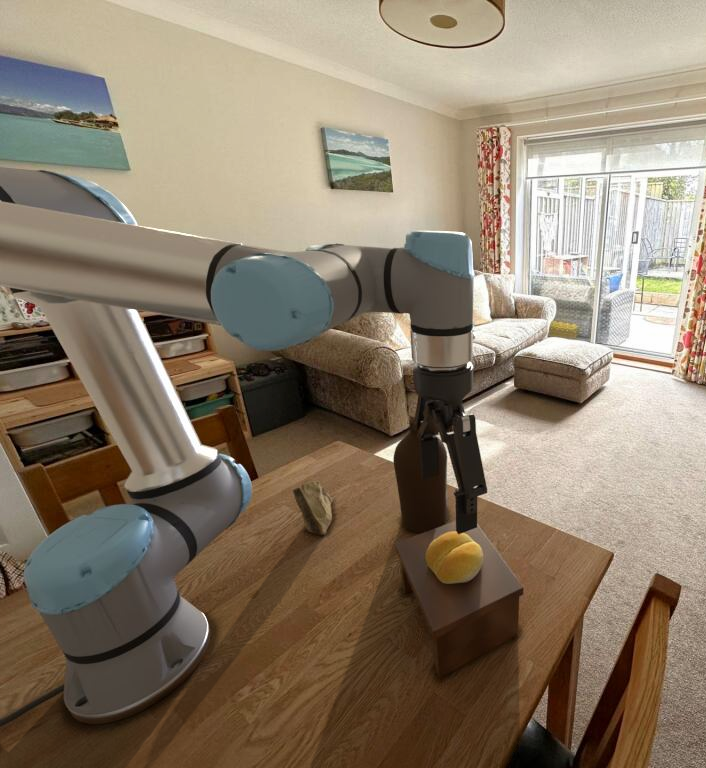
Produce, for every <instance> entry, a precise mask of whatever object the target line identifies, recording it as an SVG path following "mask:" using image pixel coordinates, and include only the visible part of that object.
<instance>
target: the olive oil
mask: <svg viewBox="0 0 706 768" xmlns="http://www.w3.org/2000/svg"><path fill="white" fill-rule="evenodd" d="M415 413H416V410H414V411H411V412H410V413H409V415H408V416H409V420H408V421H409V422H408V424H409V431H408V432H407V433H406V435H405V436H404V437H403V438H402V439H400V441H399V442H398V443H397V444H396V447H395V449H394V453H393V460H392V461H393V467H394V474H395V480H396V485H397V492H398V498H399V505H400V513H401V514H400V515H401V521H402V524H403V526H404V527H405V529H407V530H409V531H411V532H414V533H424V532H427V531H430V530H433V529H435V528H438V527H441V526H443V525H444V523H445V522H446V520H447V516H448V512H447V509H448V507H447V506H448V505H447V503H448V502H447V500H448V499H447V498H448V497H447V496H448V495H447V494H448V491H447V489H448V452H447V449H446V445H445V443H443V442H442V441H441V438H440V437H438V435H435V436H432V437H433V438H434V437H437V438H438V445H439V474H440V475H437V476H433V477H430V478H426V479H423V478H422V475H421V456H420V441H421V439H419V437H418V431H419V430H415V428H414V420H415Z"/></svg>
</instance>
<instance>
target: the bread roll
mask: <svg viewBox="0 0 706 768" xmlns="http://www.w3.org/2000/svg"><path fill="white" fill-rule="evenodd" d="M426 561H427V564H428V566H429V568H430V569H431V570H432V571H433V572H434V573H435V574H436V576H437V578H438V579H439V580H440V581H441V582H443V583H445V584H453V583H464V582H468V581H470V580H471V579H473V578H474V577H475V576H476V575H477V574H478V572H479V570H480V569H481V566H482V563H483V553H482V549H481V547H480V546H479V545H478V544H477V543H476V542H474V541H473V540H472V539H471V538H470V537H469V536H468V535H467V534H465V533H461V534H458V533H457V531H451V532H447V533H445V534H443V535H441V536H440V537H438V538H437V539H435V540H434V541H433V542H431V544H430V545H429V547H428V549H427V552H426Z"/></svg>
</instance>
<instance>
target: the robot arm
mask: <svg viewBox="0 0 706 768" xmlns="http://www.w3.org/2000/svg"><path fill="white" fill-rule="evenodd" d="M403 246H404V247H378V246H365V245H364V246H363V245H347V244H343V243H337V242H336V243H326V244H313V245H310V246H308V247H307V248H306V249H305V250H302V251H301V250H300V251H286V250H279V249H274V248H269V247H268V248H267V247H262V246H257V245H248V244H243V243H239V242H233V241H227V240H221V239H217V238H211V237H205V236H198V235H194V234H187V233H183V232H178V231H171V230H165V229H160V228H155V227H148V226H143V225H139V224H138V222H137V220H136V218H135V217H134V215H133V214H132V213H131V211H130V210H129V209H128V208H127V206H126V205H125V204H124V203H123V202H122V201H121V200H120V199H119V198H118V197H116V196H115V195H114V194H113V193H112V192H110V191H109V190H107V189H105V188H104V187H102V186H100V185H99V184H98V183H96V182H93V181H92V180H89V179H86V178H83V177H79V176H75V175H68V174H62V173H58V172H55V171H52V170H51V171H50V170H46V169H38V170H37V169H28V168H27V169H25V168H14V167H4V166H0V287H5V288H9V290H10V292H11V294H12V295H13V296H14V297H15V298H16V299H20V300H23V301H25V302H27V303H30V304H33V305H35V306H37V307H38V308H40V310H41V312H42V313H43V315H44V317H45V319H46V320H47V322H48V324H49V326H50V328H51V329H52V332H53V333H54V335H55V336H56V338H57V341H58V342H59V343H60V346H61V347H62V349H63V350H64V353H65V354H66V356H67V358H68V359H69V362H70V363H71V365H72V367H73V369H74V371H75V372H76V374H77V376H78V377H79V379H80V381H81V383H82V384H83V386H84V388H85V390H86V392H87V393H88V395H89V397H90V400H92V402H93V404H94V406H95V408H96V409H97V411H98V413H99V415H100V417H101V418H102V420H103V422H104V424H105V425H106V427H107V429H108V431H109V433H110V434H111V436H112V438H113V440H114V441H115V444H116V445H117V447H118V449H119V451H120V452H121V454H122V456H123V458H124V460H125V461H126V463H127V465H128V466H129V469H130V470H131V471H130V473H129V475H128V476H127V478H126V480H125V482H124V484H123V486H124V489H125V491H126V493H127V494H128V496H129V498H130V499H131V501H132V503H119V504H114V505H113V504H112V505H108V506H105V507H100V508H98V509H95V510H94V512H93V513H91V514H88V515H87V514H82V515H80V516H77V517H76V518H74V519H72V520H70V521H69V522H66V523H65V524H63V525H61V526H60V527H59V528H57V529H56V530H54V531H53V532H52V533H51V534H49V535H47V537H45V538H44V539H43V540H42V541H41V542H40V543H39V544H38V545H37V546H36V547H35V548H34V549H33V551H32V552H31V553H30V555H29V556H28V557H27V560H26V562H25V564H24V570H23V581H24V584H25V587H26V591H27V593H28V598H29V602H30V604H31V605H32V607H33V609H35V610H37V611H38V613H39V614H40V616H41V619H42V620H43V622H44V623H45V625H46V626H47V628H48V630H49V631H50V633H51V635H52V637H53V638H54V640H55V641H56V643H57V645H58V647H59V648H60V650H61V652H62V653H63V655H64V657H65V660H66V661H65V670H64V671H65V672H64V683H63V684H62V685H60V686H58V687H56V688H54V689H52V690H50V691H49V692H47V693H45V694H43V695H41V696H39V697H38V698H36V699H34V700H32V701H30V702H29V703H27V704H25V705H23V706H22V707H20V708H19V709H17V710H15V711H14V712H11V713H9V714H8V715H6V716H4V717H2V718H0V727H3V726H4V725H6V724H8V723H11V722H12V721H14V720H16V719H18V718H19V717H21V716H22V715H24V714H26V713H27V712H29V711H31V710H32V709H34V708H36V707H37V706H39V705H41V704H43V703H45V702H46V701H47V702H48V701H49V700H50V699H52V698H54V697H56V696H57V695H60V694H61V693H63V702H64V704H65V706H66V708H67V711H69V713H70V715H71V716H72V717H73V718H74V719H75V720H76V721H78V722H80V723H83V724H88V725H103V724H109V723H113V722H118V721H120V720H124V719H127V718H129V717H131V716H134V715H136V714H138V713H140V712H142V711H144V710H146V709H148V708H149V707H151V706H153V705H155V704H156V703H157V702H159V701H161V700H162V699H163V698H165V697H166V696H167V695H169V694H171V693H172V692H173V691H174V690H175V689H177V688H178V687H179V686H180V685H181V684H182V683H183V682H184V681H185V680H187V678H188V677H189V676H190V675H191V674H193V672H194V671H195V669H197V667H198V666H199V664H201V662H202V660H203V658H204V657H205V655H206V653H207V651H208V648H209V647H210V643H211V635H212V633H211V628H210V624H209V622H208V619H207V617H206V615H205V614H204V613H203V612H202V611H201V610H200V609H198V608H197V607H195V606H194V605H193V604H192V603H191V602H189V601H188V600H187V599H185V598H184V597H183V596H181V594H180V592H179V589H178V587H177V583H176V582H175V578H176V576H177V575H179V574H180V572H181V571H182V570H183V569H185V567H187V566H188V565H189V564H190V563H192V561H193V560H194V559H195V558H197V557H198V556H199V555H200V554H201V553H202V552H203V551H204V550H205V549H206V548H208V546H209V545H211V543H213V542H214V540H215V539H216V538H218V537H219V536H220V535H221V534H222V533H223V532H224V531H225V530H228V529H229V528H230V527H231V526H233V525H234V524H235V523H236V521H237V520H238V519H239V517H240V516H241V515H242V514H243V513H244V511H245V510H246V509H247V508H248V506H249V504H250V502H251V499H252V496H253V495H252V494H253V485H252V481H251V478H250V475H249V474H248V472H247V470H246V468H245V467H244V466H243V465H242V464H241V463H236V459H234V458H233V457H231V456H229V455H227V454H223V453H219V450H218V449H217V448H216V447H212V446H210V445H205V444H202V442H201V439H200V438H199V436H198V434H197V431H196V430H195V428H194V425H193V423H192V422H191V420H190V417H189V415H188V412H187V411H186V408H185V406H184V404H183V402H182V401H181V398H180V396H179V393H178V392H177V390H176V388H175V386H174V385H175V384H173V381H172V379H171V376H170V375H169V373H168V370H167V368H166V366H165V365H164V362H163V360H162V358H161V356H160V354H159V352H158V350H157V348H156V346H155V344H154V341H153V340H152V339H153V338H152V337H151V335H150V333H149V330H148V329H147V327H146V325H145V323H144V321H143V318H142V316H141V314H140V312H144V313H149V314H155V315H160V316H165V317H166V316H167V317H172V318H176V319H177V318H178V319H181V320H182V319H183V320H189V321H194V322H198V323H199V322H200V323H205V324H210V325H215V326H221V328H223V329H224V331H225V332H226V333H227V334H229V336H230V337H233V338H235V339H237V340H238V341H239V342H241V343H243V344H244V346H246V347H248V348H251V349H253V350H257V351H263V352H276V351H281V350H285V349H287V348H290V347H295V346H300V345H304V344H306V343H309V342H311V341H312V340H314V339H316V338H317V337H319V336H321V334H324V333H325V332H328V331H329V330H331V329H333V328H335V327H338V326H340V325H341V324H344V323H346V322H348V321H350V320H353V319H354V318H357V317H359V316H362V315H363V314H365V313H388V314H400V315H402V314H408V315H409V319H410V321H409V322H410V323H409V326H410V328H409V329H410V331H409V332H410V348H411V349H410V350H411V351H410V353H411V360H412V362H414V364H413V366H412V375H413V377H412V378H413V390H414V392H415V394H417V400H416V408H415V411H416V413H415V420H414V428H415V430H419V431H418V437H419V439H421V441H420V456H421V475H422V478H423V479H426V478H430V477H433V476H437V475H440V474H439V445H438V438H440V440H441V441H442V442H443V444H445V446H446V447H447V449H446V450H447V451H448V452H447V453H448V456H449V460H450V463H451V466H452V470H453V473H454V477H455V481H456V485H457V489H455V490H454V491H455V492H453V495H454V497H455V521H456V531H457V533H458V534H461V533H463V532H466V531H469V530H472V529H474V528H477V524H478V497H480V496H483V495H485V494H488V487H487V482H486V477H485V471H484V466H483V461H482V456H481V451H480V445H479V440H478V434H477V421H476V416H475V414H474V413H468V414H466V412H465V408H464V405H463V400H464V399H465V398H466V396H468V395H469V394H470V393H472V391H473V389H474V365H473V363H472V362H471V361H473V358H474V356H473V355H474V354H473V353H474V340H476V334H475V333H474V285H475V284H474V283H475V282H474V281H475V272H474V262H473V244H472V240H471V238H470V237H469V236H468V235H467V234H466V233H464V232H459V231H447V230H446V231H444V230H409V231H408V232H407V233H406V234H405V243H404V244H403ZM435 435H436V436H437V437H438V436H439V437H438V438H437V437H434V438H433V437H432V436H435Z"/></svg>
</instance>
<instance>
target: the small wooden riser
mask: <svg viewBox="0 0 706 768" xmlns="http://www.w3.org/2000/svg"><path fill="white" fill-rule="evenodd" d="M451 531H456V520H454V521H452V522H449V523H446V524H443V525H441V526H440V527H438V528H435V529H433V530H430V531H427V532H420V533H418V534H416V535H413V536H411V537H407V538H405V539H403V540H400V541H397V542H395V543H394V551H395V553H396V555H397V557H398V559H399V567H400V574H401V584H402V585H401V586H402V589H403V592H404V594H408V593H410V592H413V595H414V597H415V600H416V601H417V604H418V606H419V609H420V611H421V613H422V616H423V619H424V620H425V623H426V625H427V627H428V630H429V632H430V635H431V637H432V639H433V651H434V664H435V671H436V673H437V676H438V678H439V679H440V678H442V677H444V676H446V675H448V674H450V673H451V672H453V671H454V670H457V669H459V668H460V667H462V666H464V665H466V664H469V663H470V662H471V661H473V660H475V659H476V658H479V657H480V656H482V655H485V654H486V653H488V652H489V651H491V650H493V649H495V648H496V647H499V646H500V645H502V644H504V643H505V642H508V641H510V640H511V639H513V638H515V637H516V636H518V635H519V618H520V617H519V616H520V613H519V612H520V597H522V596H524V586H523V584H522V583H521V581H519V579H518V578H517V576H516V575H515V574H514V572H513V570H512V569H511V568H510V567H509V565H508V564H507V563H506V561H505V560H504V558H503V557H502V556H501V554H500V553H499V552H498V550H497V549H496V547H495V546H494V545H493V543H492V542H491V541H490V539H489V538H488V537H487V535H486V533H485V532H484V531H483V530H482V529H481V527H480V525H479V524H478V523H477V528H474V529H472V530H469V531H466V532H463V533H465V534H467V535H468V536H469V537H470V538H471V539H472V540H473V541H474V542H476V543H477V544H478V545H479V546H480V547H481V549H482V553H483V563H482V566H481V569H480V570H479V572H478V574H477V575H476V576H475V577H474V578H473V579H471V580H470V581H468V582H464V583H453V584H445V583H443V582H441V581H440V580H439V579H438V578H437V576H436V574H435V573H434V572H433V571H432V570H431V569H430V568H429V566H428V564H427V561H426V552H427V549H428V547H429V545H430V544H431V542H433V541H434V540H435V539H437V538H438V537H440V536H441V535H443V534H445V533H447V532H451Z"/></svg>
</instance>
